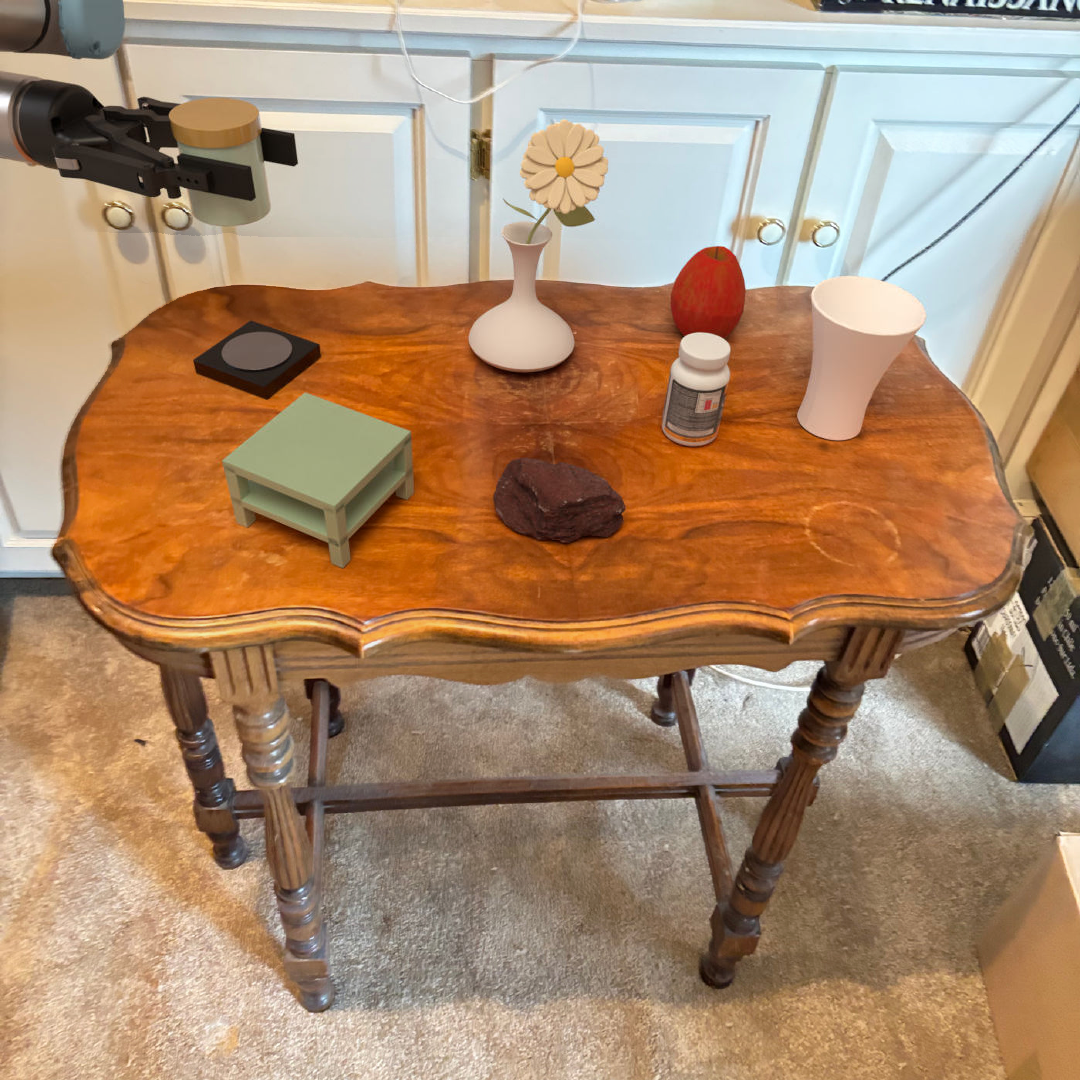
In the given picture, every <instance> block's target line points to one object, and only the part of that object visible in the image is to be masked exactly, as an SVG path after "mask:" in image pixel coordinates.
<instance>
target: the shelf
mask: <svg viewBox="0 0 1080 1080" xmlns="http://www.w3.org/2000/svg"><path fill="white" fill-rule="evenodd" d="M412 441H413V440H412V431H411V430H409V429H406V428H404V427H400V426H398V425H395V424H393V423H390V422H387V421H384V420H381V419H379V418H376V417H374V416H371V415H368V414H366V413H363V412H360V411H357V410H355V409H352V408H349V407H347V406H344V405H342V404H339V403H335V402H332V401H330V400H328V399H326V398H325V399H324V398H322V397H320V396H316V395H314V394H311V393H308V392H303V393H302V394H301V395H300V396H298V398H297V399H295V400H293V402H291V403H290V404H289V405H288V406H286V407H285V408H284V409H283V410H282V411H280V412H279V413H278V414H277V415H275V416H274V417H273V418H272V419H270V420H269V421H268V422H266V424H264V425H263V426H262V427H261V428H259V429H258V430H257V431H256V432H255V433H253V434H252V435H251V436H249V437H248V439H246V440H245V441H244V442H242V443H241V444H240V445H238V446H237V447H236V448H235V449H234V450H233V451H232V452H230V453H228V455H226V456H225V457H224V458H223V459H222V460H221V462H222V468H223V472H224V475H225V480H226V483H227V488H228V492H229V498H230V501H231V505H232V509H233V514H234V518H235V523H236V524H237V525H240V526H242V527H244V528H247V529H248V528H250V526H251V525H252V524H253V523H255V522H256V521H257V516H256V514H259V515H261V516H263V517H266V518H267V519H271V520H273V521H275V522H277V523H280V524H283V525H284V526H287V527H289V528H291V529H294V530H297V531H299V532H301V533H303V534H305V535H308V536H311V537H313V538H316V539H318V540H320V541H323V542H325V543H327V544H328V551H329V556H330V563H331V564H332V565H334V566H336V567H338V568H341V569H344V568H345V567H346V566H347V565H348V564H349V563H350V561H351V560H352V558H351V550H350V542H349V539H350V538H351V537H352V536H353V535H354V534H355V533H356V532H357V531H358V530H359V529H360V528H361V527H362V526H363V525H364V524H365V523H366V522H367V521H368V520H369V519H370V518H371V517H372V516H373V515H374V514H375V513H376V511H378V509H379V508H380V507H381V506H382V505H384V503H385V502H386V501H387V500H388V499H389V498H390V497H391V495H393V494H394V493H395V496H396V497H398V498H401V499H403V500H406V501H408V500H409V499H410V498H411V497H412V496H413V495H414V493H415V481H414V467H413V466H414V464H413V463H414V460H413V445H412V444H413V442H412Z"/></svg>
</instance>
